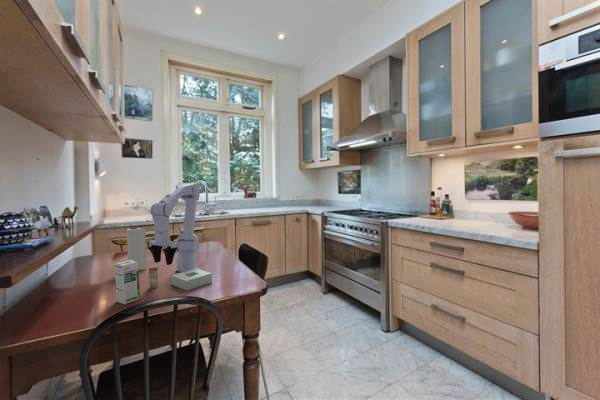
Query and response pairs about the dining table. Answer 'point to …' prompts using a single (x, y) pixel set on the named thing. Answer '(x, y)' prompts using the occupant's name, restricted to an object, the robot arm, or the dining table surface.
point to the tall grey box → (137, 246)
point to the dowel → (153, 277)
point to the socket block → (191, 279)
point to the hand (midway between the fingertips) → (163, 263)
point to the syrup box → (127, 281)
